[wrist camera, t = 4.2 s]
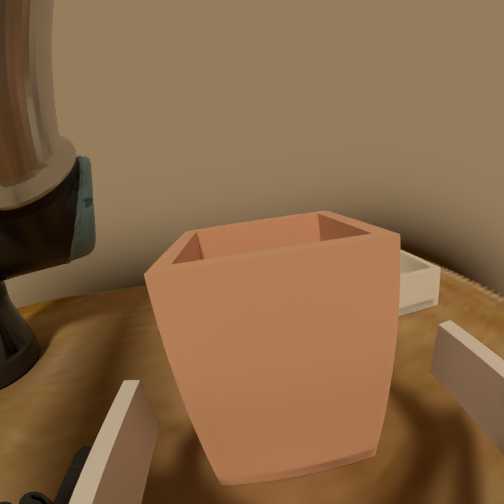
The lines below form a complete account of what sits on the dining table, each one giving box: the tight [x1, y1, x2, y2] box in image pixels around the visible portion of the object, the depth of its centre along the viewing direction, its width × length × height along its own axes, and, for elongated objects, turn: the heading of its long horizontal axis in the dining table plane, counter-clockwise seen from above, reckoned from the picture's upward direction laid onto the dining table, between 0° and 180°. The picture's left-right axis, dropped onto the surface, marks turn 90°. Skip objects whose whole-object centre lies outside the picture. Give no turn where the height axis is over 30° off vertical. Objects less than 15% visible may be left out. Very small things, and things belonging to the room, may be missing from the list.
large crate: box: [398, 250, 440, 317], centre depth 36 cm, size 19×19×4 cm
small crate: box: [144, 211, 400, 486], centre depth 15 cm, size 9×9×13 cm
